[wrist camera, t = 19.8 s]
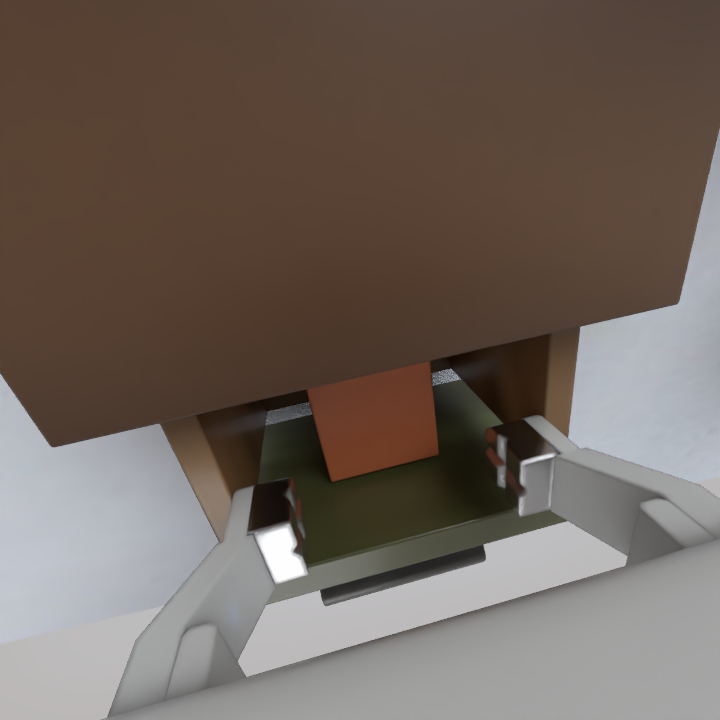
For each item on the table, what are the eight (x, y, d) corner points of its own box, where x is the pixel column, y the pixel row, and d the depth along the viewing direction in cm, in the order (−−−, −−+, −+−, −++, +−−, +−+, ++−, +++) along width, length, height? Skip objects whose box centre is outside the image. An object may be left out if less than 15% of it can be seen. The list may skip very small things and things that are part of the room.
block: (407, 399, 16) (439, 455, 13) (322, 420, 16) (330, 483, 12) (397, 318, 15) (430, 356, 11) (301, 339, 14) (304, 385, 11)
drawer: (475, 467, 20) (570, 608, 13) (278, 518, 19) (270, 698, 12) (462, 72, 12) (679, -95, 5) (130, 125, 12) (-125, 6, 4)
